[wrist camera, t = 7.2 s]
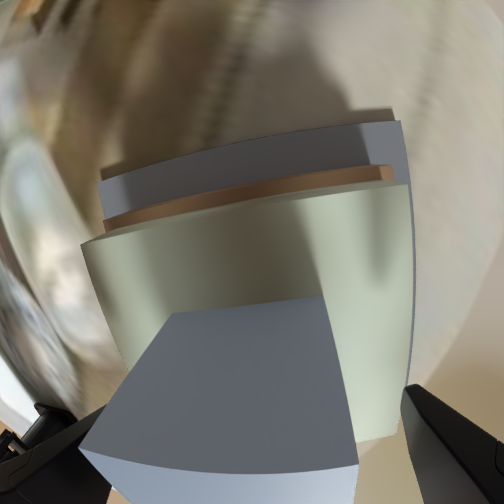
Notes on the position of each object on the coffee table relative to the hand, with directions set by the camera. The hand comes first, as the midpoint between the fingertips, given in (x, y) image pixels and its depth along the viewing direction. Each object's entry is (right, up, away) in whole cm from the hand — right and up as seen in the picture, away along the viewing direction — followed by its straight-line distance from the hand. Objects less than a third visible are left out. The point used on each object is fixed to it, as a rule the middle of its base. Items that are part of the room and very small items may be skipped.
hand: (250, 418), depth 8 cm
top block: (0, +1, +2) cm, 2 cm away
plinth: (+1, +2, +8) cm, 9 cm away
